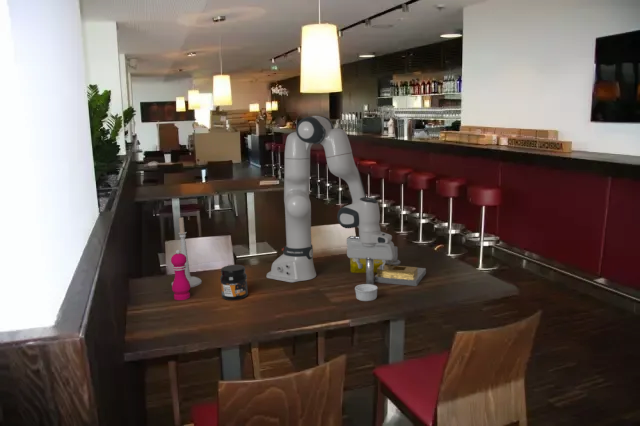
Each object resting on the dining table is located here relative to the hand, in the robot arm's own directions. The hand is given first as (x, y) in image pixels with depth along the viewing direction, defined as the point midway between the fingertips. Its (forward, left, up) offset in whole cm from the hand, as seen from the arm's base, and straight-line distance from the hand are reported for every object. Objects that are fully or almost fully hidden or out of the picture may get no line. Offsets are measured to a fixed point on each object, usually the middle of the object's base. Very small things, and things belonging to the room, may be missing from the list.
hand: (371, 268), depth 219 cm
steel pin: (-1, 0, -7) cm, 7 cm away
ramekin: (+3, -17, -7) cm, 18 cm away
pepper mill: (-68, -39, -7) cm, 78 cm away
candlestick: (-78, -23, -7) cm, 81 cm away
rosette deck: (+9, +12, -7) cm, 16 cm away
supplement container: (-48, -31, -7) cm, 57 cm away
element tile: (-10, +22, -7) cm, 25 cm away
